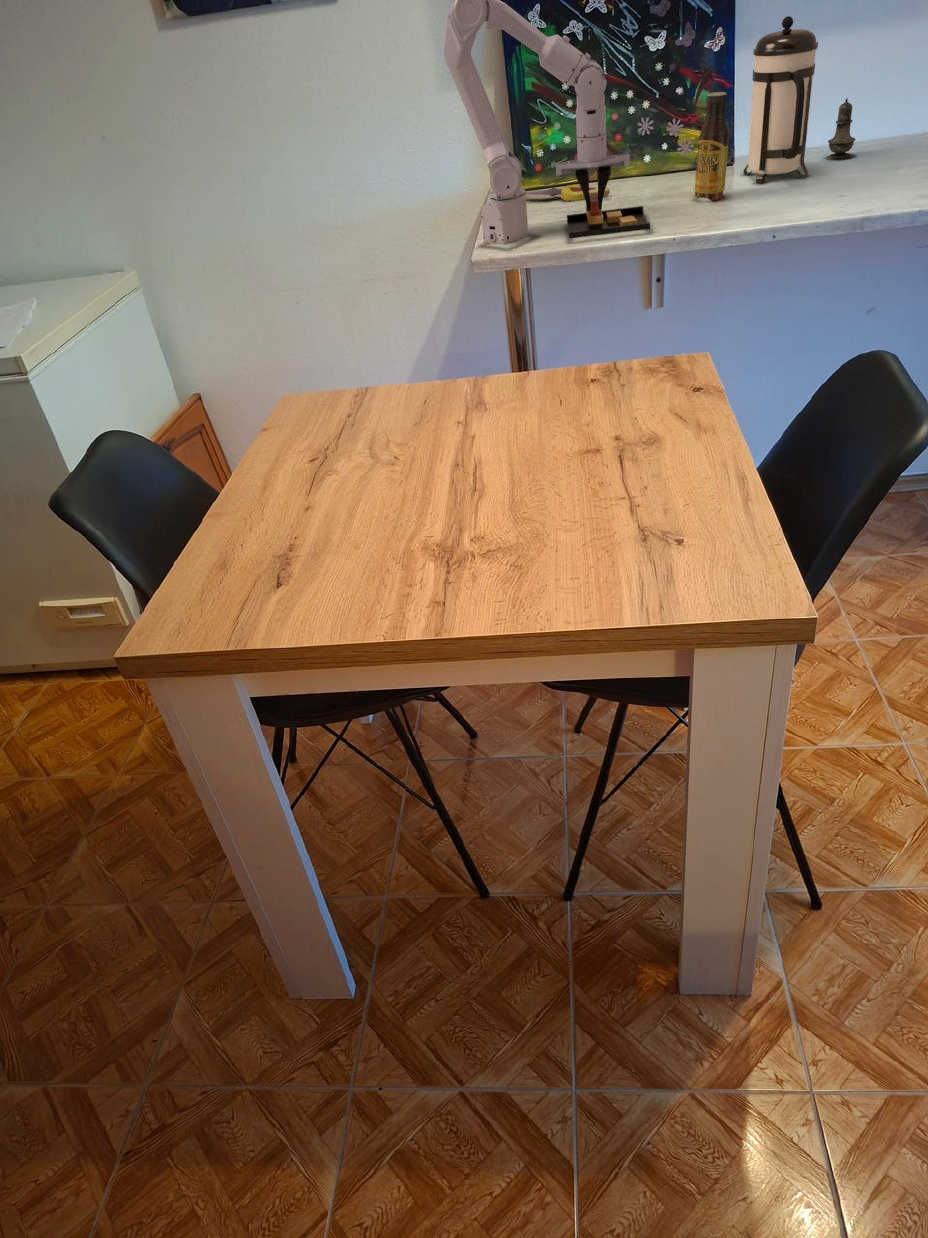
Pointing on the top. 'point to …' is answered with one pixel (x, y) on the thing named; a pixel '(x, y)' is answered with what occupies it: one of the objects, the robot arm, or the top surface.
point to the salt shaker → (842, 134)
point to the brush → (594, 213)
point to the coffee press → (781, 101)
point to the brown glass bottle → (712, 149)
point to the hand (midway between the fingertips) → (594, 208)
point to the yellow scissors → (566, 193)
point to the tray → (581, 228)
